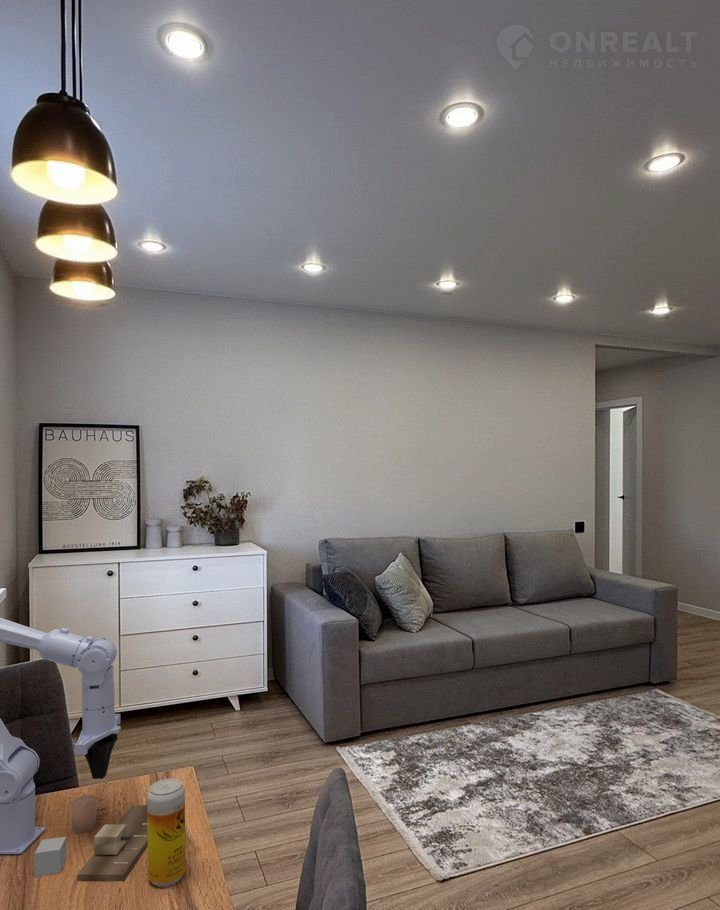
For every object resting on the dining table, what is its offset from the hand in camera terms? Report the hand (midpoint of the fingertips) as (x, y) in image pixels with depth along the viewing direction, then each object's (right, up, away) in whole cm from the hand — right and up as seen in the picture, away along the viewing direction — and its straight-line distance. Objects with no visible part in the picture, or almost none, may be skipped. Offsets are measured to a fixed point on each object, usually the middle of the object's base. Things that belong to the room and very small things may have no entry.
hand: (99, 777), depth 117 cm
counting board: (+7, -10, -4) cm, 13 cm away
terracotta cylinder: (-4, -11, +2) cm, 11 cm away
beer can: (+18, -9, -14) cm, 25 cm away
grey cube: (-4, -10, -11) cm, 15 cm away
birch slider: (+6, -9, -8) cm, 13 cm away
